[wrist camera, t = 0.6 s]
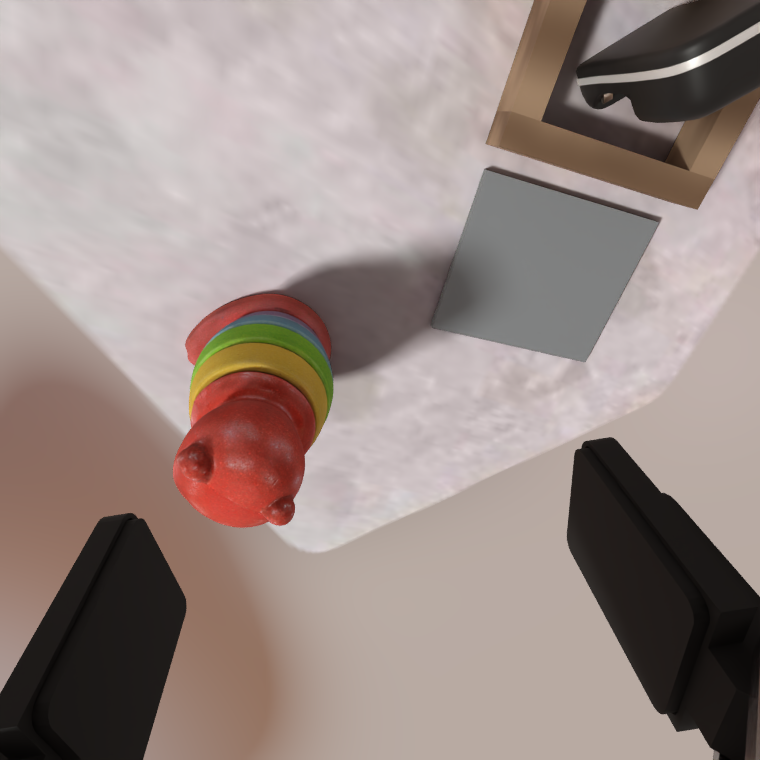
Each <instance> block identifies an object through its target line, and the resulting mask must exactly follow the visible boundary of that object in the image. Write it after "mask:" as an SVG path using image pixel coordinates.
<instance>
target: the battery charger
mask: <svg viewBox="0 0 760 760" xmlns="http://www.w3.org/2000/svg"><path fill="white" fill-rule="evenodd" d="M576 74H577V79H576V80H577V83H578V86H580V88H581V92H582V95H583V97H584V99H585V101H586V102H587V103H588V105H589V106H590V107H592V108H594V109H603V108H606V107H608V106H610V105H612V104H614V103H615V102H617V101H619V100H620V99H622V98H624V97H625V96H626V97H628V98H629V99H630V100H631V103H632V107H633V110H634V112H635V115H636V116H637V117H638V118H639V120H642V121H647V122H655V123H665V122H681V121H689V120H696V119H700V118H703V117H706V116H708V115H710V114H712V113H714V112H716V111H718V110H720V109H721V108H723V107H725V106H727V105H729V104H730V103H732V102H734V101H736V100H738V99H739V98H741V97H743V96H745V95H747V94H748V93H750V92H752V91H754V90H755V89H757V88H759V87H760V0H699V1H696V2H692V3H689V4H686V5H682V6H679V7H675V8H672V9H670V10H668V11H666V12H665V13H663V14H662V15H660V16H658V17H657V18H655V19H653V20H652V21H650V22H648V23H647V24H645V25H643V26H642V27H640V28H639V29H637V30H635V31H634V32H632V33H630V34H629V35H627V36H625V37H624V38H622V39H621V40H619V41H617V42H616V43H614V44H613V45H611V46H609V47H608V48H606V49H604V50H603V51H601V52H600V53H598V54H596V55H595V56H593V57H591V58H590V59H588V60H587V61H585V62H583V63H582V64H580V65H579V66H578V67H577V69H576Z"/></svg>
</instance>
